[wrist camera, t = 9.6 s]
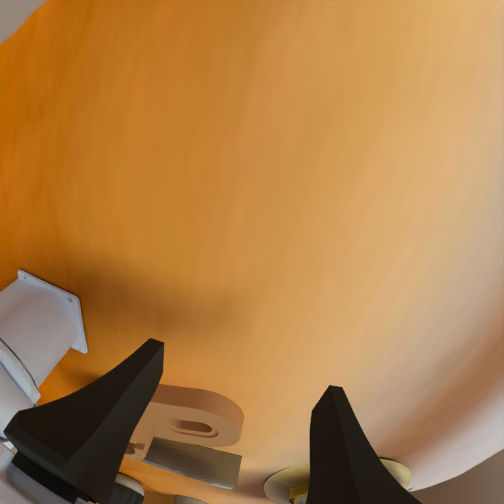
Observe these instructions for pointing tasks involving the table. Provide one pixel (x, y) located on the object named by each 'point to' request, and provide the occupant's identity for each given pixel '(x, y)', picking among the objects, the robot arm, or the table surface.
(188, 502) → the thermos bottle
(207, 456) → the bar
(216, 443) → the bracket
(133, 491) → the grey white egg device
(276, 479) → the stacked boxes on plate
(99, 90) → the table surface
